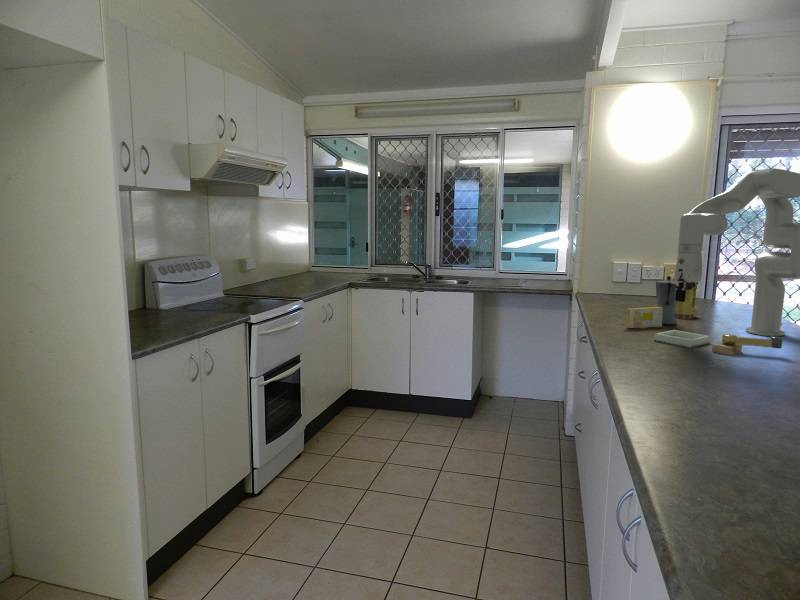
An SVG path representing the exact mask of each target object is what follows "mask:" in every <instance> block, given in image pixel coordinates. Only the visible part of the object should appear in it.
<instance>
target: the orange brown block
mask: <svg viewBox="0 0 800 600" xmlns="http://www.w3.org/2000/svg"><path fill="white" fill-rule="evenodd" d="M742 347H743V345H739V344H725V343H722V341H721V342H717V343H713V344H712V346H711V352H713V353H718V354H723V355H728V356H732V355H735V354H737V353H738V354H739V353H741V352H742Z"/></svg>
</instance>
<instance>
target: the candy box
mask: <svg viewBox="0 0 800 600" xmlns="http://www.w3.org/2000/svg"><path fill="white" fill-rule="evenodd" d="M626 312H627V313H626V317H627V318H626V329H627V328H641V329H648V328H647V327H656V328H662V327H663V324H662V312H663V307H657V306H653V307H638V308H637V307H635V308H627V310H626Z"/></svg>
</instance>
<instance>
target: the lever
mask: <svg viewBox="0 0 800 600" xmlns="http://www.w3.org/2000/svg"><path fill="white" fill-rule="evenodd" d="M783 340H784V339H783V337H782V336H770V339H767V338H756V337H744V336H743V337H742V336H737V335H736V334H730V333H729V334H728V333H724V334H722V339H721V342H722V343H725V344H739V345H742V346H753V347H763V348H773V349H782V347H783Z"/></svg>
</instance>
